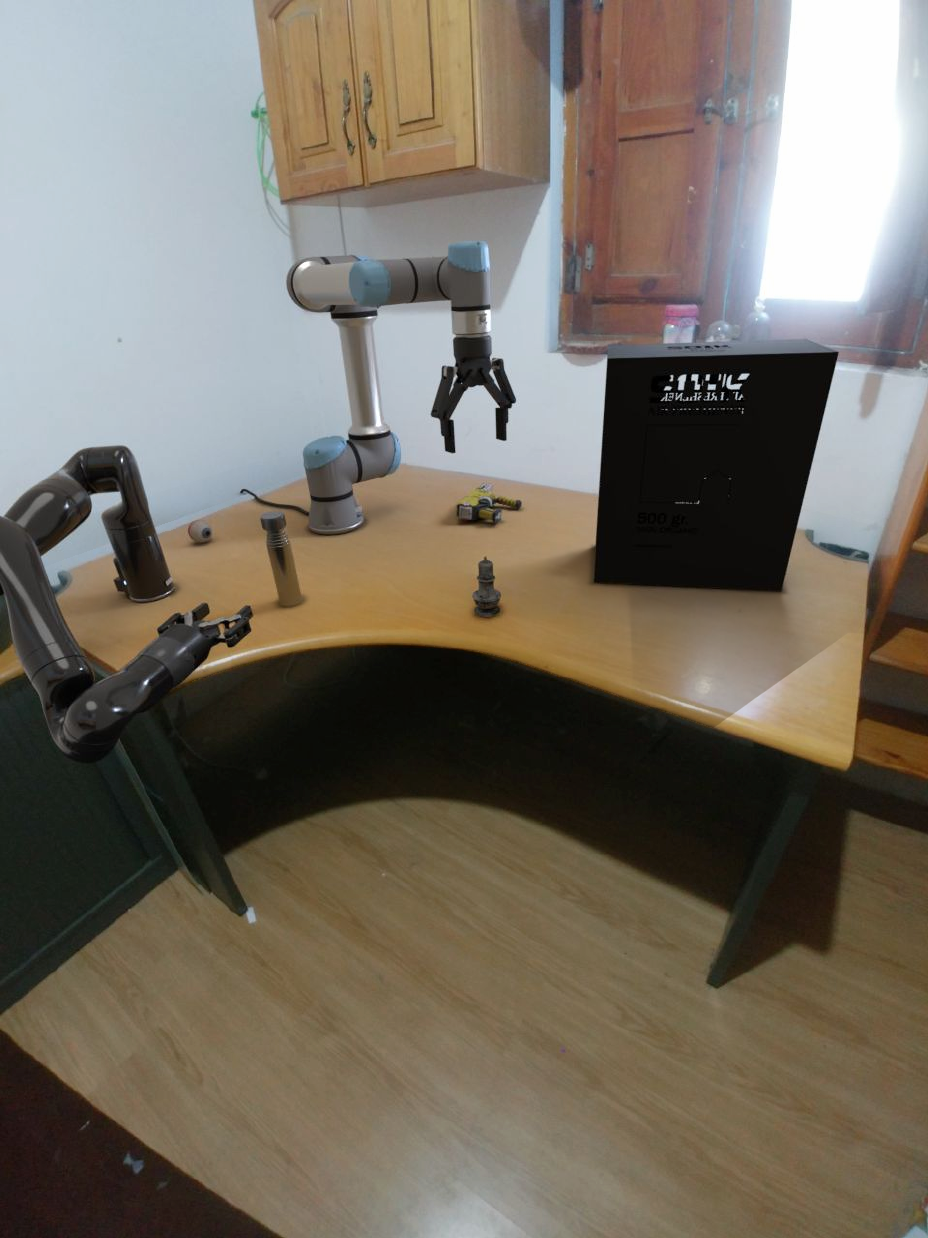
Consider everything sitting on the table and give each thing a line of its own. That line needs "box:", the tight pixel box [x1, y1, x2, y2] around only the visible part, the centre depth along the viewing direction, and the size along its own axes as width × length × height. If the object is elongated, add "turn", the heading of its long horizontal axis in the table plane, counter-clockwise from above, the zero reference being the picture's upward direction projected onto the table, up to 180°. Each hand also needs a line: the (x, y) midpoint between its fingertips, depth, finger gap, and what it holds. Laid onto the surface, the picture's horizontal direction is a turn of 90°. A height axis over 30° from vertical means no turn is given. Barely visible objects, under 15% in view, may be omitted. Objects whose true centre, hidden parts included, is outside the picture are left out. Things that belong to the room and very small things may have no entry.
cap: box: [259, 510, 287, 532], centre depth 121 cm, size 5×5×3 cm
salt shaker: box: [471, 555, 502, 618], centre depth 119 cm, size 6×6×12 cm
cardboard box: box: [593, 338, 840, 592], centre depth 124 cm, size 38×20×45 cm, turn 78°
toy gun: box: [455, 482, 523, 525], centre depth 172 cm, size 5×24×15 cm
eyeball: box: [187, 519, 213, 544], centre depth 162 cm, size 6×6×6 cm
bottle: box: [265, 527, 303, 608], centre depth 126 cm, size 5×5×19 cm
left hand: (228, 608), depth 107 cm, fingers open, 8 cm apart
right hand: (476, 445), depth 127 cm, fingers open, 13 cm apart
